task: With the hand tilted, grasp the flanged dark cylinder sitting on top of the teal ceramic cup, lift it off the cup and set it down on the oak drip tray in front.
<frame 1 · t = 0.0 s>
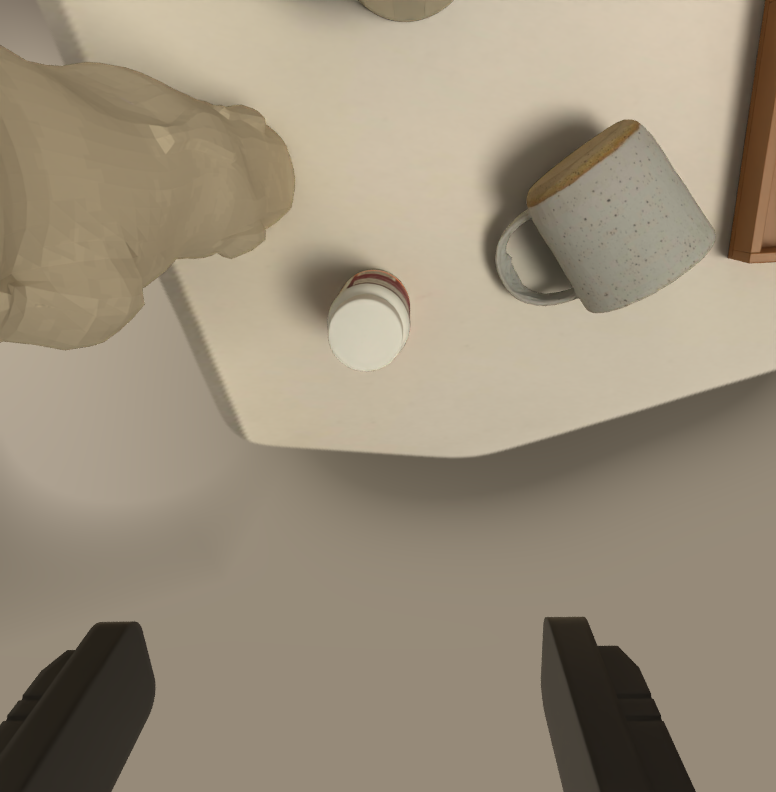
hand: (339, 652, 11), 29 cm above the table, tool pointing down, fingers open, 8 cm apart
vase: (240, 183, 36), on the table
pill bottle: (375, 303, 39), on the table
ceramic mug: (576, 231, 37), on the table
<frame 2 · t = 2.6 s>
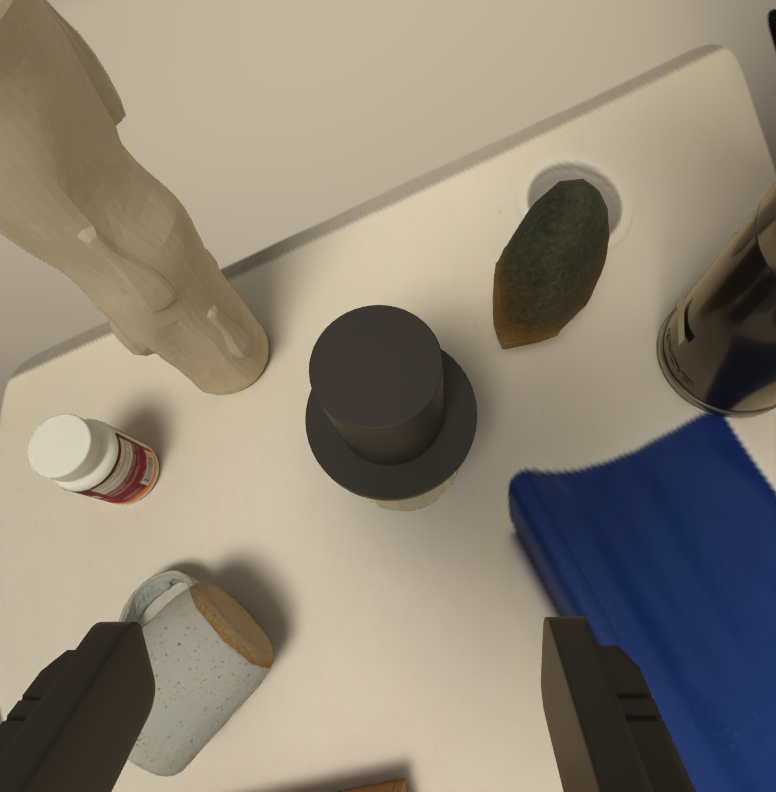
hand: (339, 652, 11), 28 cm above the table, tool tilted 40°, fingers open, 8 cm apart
vase: (225, 354, 46), on the table
decorative stone: (526, 335, 44), on the table
pill bottle: (131, 474, 43), on the table
flanged dark cylinder: (393, 423, 34), point 7 cm above the table, touching cup
ceramic mug: (197, 650, 38), on the table
cup: (402, 454, 41), on the table
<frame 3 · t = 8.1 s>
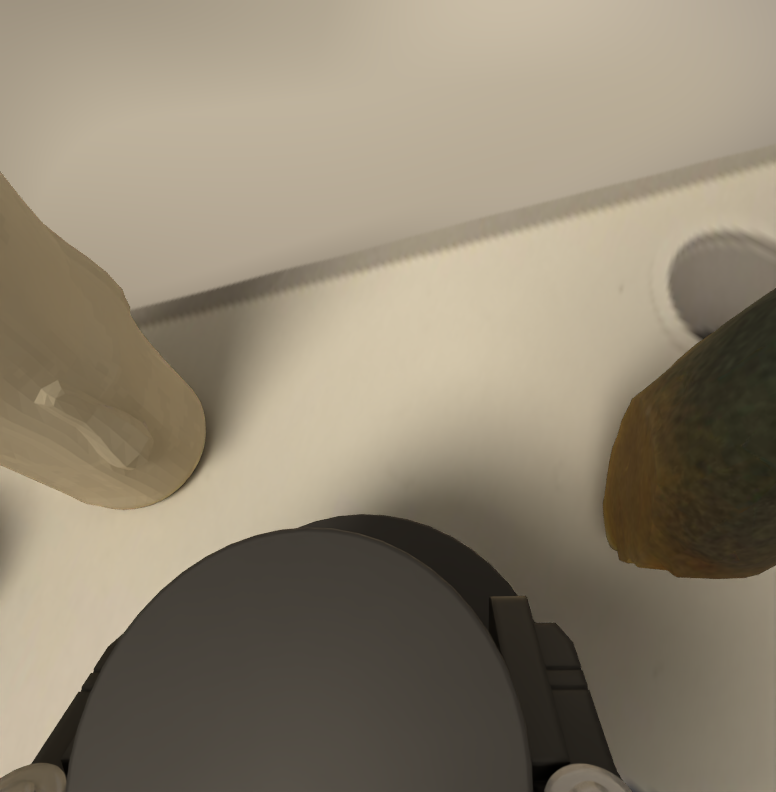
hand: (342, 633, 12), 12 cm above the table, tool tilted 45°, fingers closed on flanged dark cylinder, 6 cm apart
vase: (137, 438, 28), on the table
decorative stone: (643, 509, 25), on the table
flanged dark cylinder: (367, 708, 16), point 8 cm above the table, touching cup, gripper
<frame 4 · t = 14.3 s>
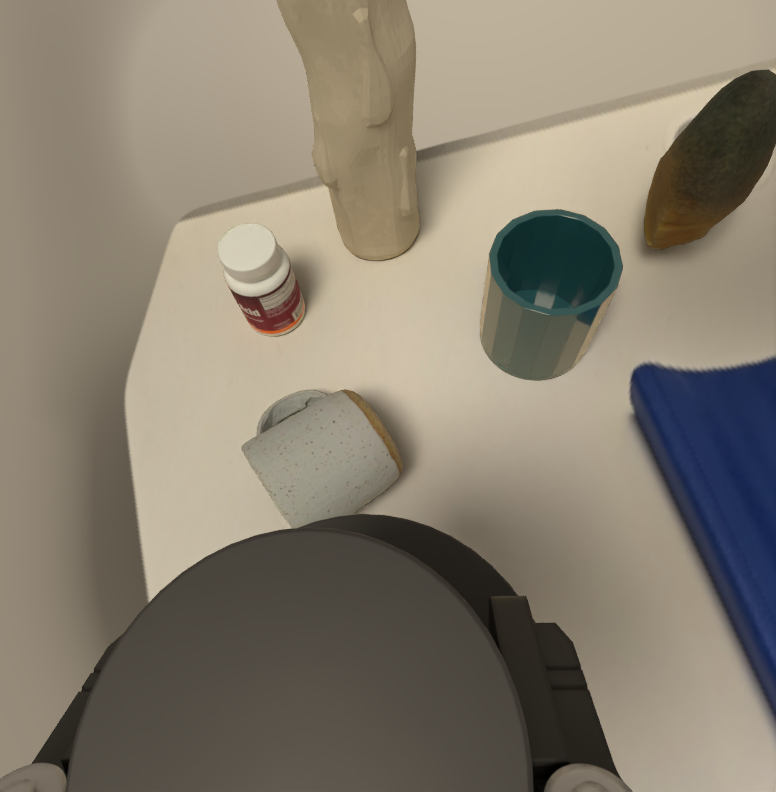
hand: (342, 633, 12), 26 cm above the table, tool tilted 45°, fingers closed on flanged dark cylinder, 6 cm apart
vase: (375, 229, 50), on the table
decorative stone: (661, 252, 47), on the table
pill bottle: (277, 314, 47), on the table
flanged dark cylinder: (367, 709, 16), point 22 cm above the table, touching gripper
ceramic mug: (320, 467, 41), on the table
cup: (533, 333, 44), on the table
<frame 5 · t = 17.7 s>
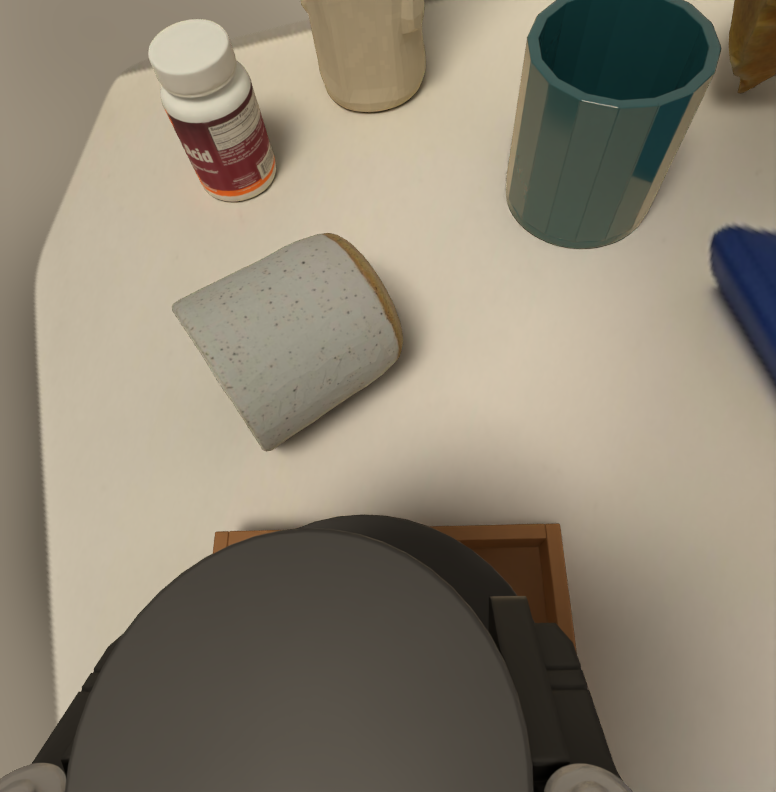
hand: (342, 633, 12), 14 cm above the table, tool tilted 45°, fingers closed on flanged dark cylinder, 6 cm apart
tray: (389, 690, 24), on the table
vase: (369, 79, 39), on the table
decorative stone: (741, 97, 36), on the table
pill bottle: (240, 177, 36), on the table
flanged dark cylinder: (367, 709, 16), point 9 cm above the table, touching gripper
ceramic mug: (292, 360, 30), on the table
cup: (576, 192, 33), on the table
when the fingers open (5 cm above the table, at t = 20.5 s): flanged dark cylinder stays where it is, resting on tray.
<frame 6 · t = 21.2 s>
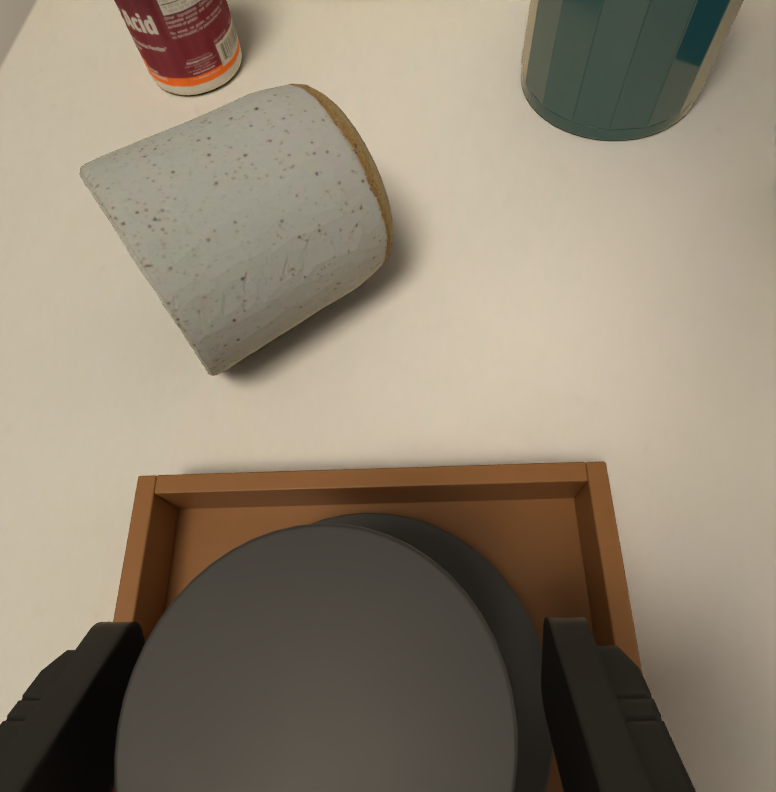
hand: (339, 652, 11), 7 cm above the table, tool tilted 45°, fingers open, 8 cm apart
tray: (373, 690, 17), on the table
pill bottle: (199, 70, 30), on the table
flanged dark cylinder: (371, 693, 17), resting on tray
ceramic mug: (254, 274, 24), on the table
cup: (607, 78, 27), on the table
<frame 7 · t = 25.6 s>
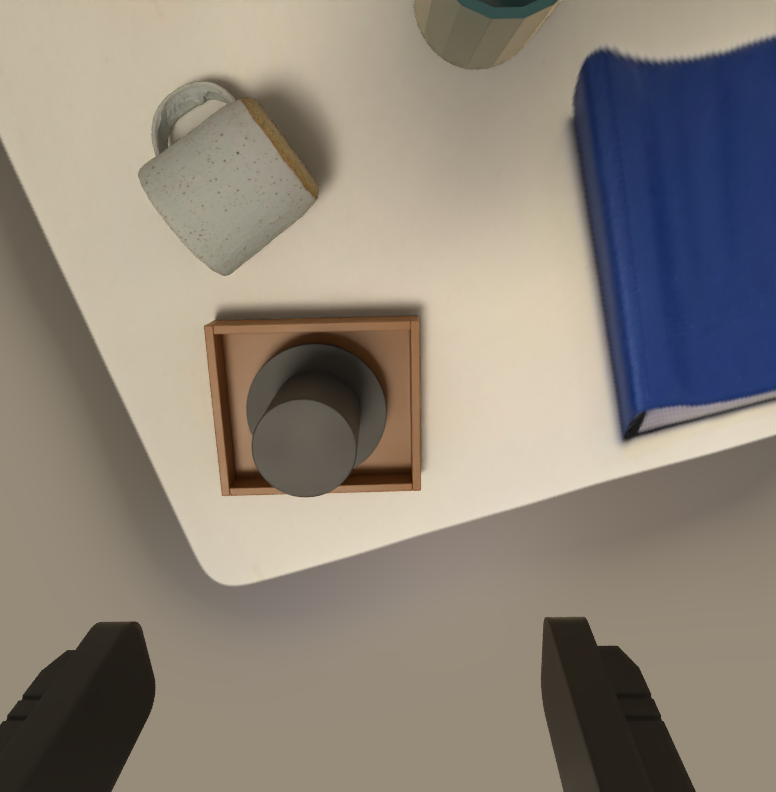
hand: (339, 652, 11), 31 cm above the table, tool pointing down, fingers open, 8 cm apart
tray: (320, 401, 42), on the table
flanged dark cylinder: (319, 404, 42), resting on tray
ceramic mug: (232, 176, 38), on the table
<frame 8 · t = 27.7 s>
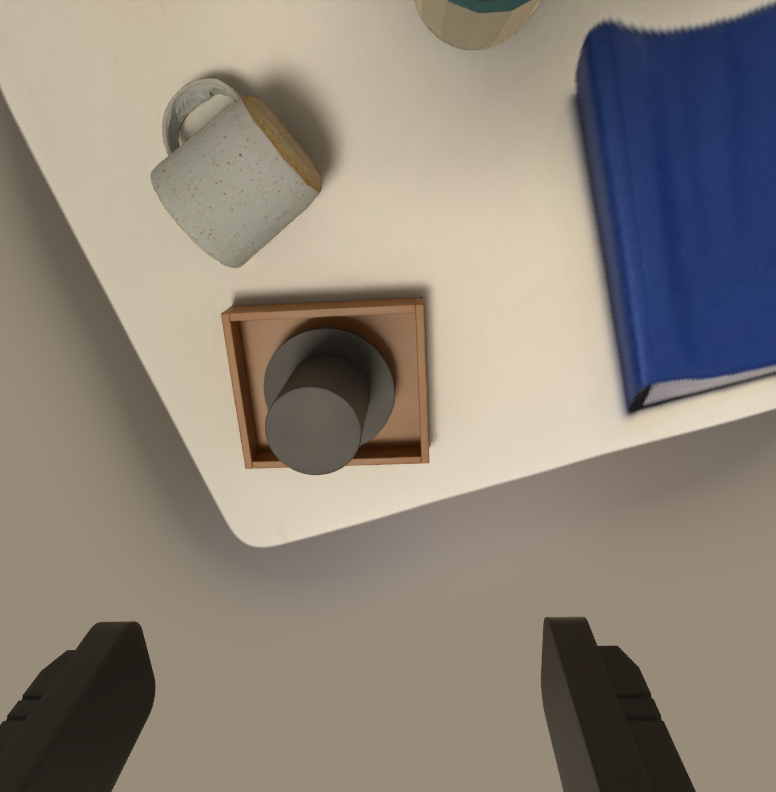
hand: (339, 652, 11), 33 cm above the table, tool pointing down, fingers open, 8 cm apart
tray: (333, 380, 45), on the table
flanged dark cylinder: (332, 383, 44), resting on tray
ceramic mug: (241, 168, 40), on the table
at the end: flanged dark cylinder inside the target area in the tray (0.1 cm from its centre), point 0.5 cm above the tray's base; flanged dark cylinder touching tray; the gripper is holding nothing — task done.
